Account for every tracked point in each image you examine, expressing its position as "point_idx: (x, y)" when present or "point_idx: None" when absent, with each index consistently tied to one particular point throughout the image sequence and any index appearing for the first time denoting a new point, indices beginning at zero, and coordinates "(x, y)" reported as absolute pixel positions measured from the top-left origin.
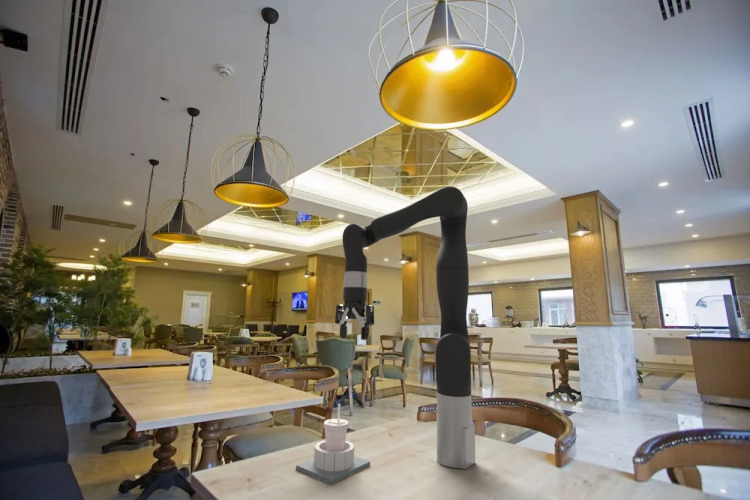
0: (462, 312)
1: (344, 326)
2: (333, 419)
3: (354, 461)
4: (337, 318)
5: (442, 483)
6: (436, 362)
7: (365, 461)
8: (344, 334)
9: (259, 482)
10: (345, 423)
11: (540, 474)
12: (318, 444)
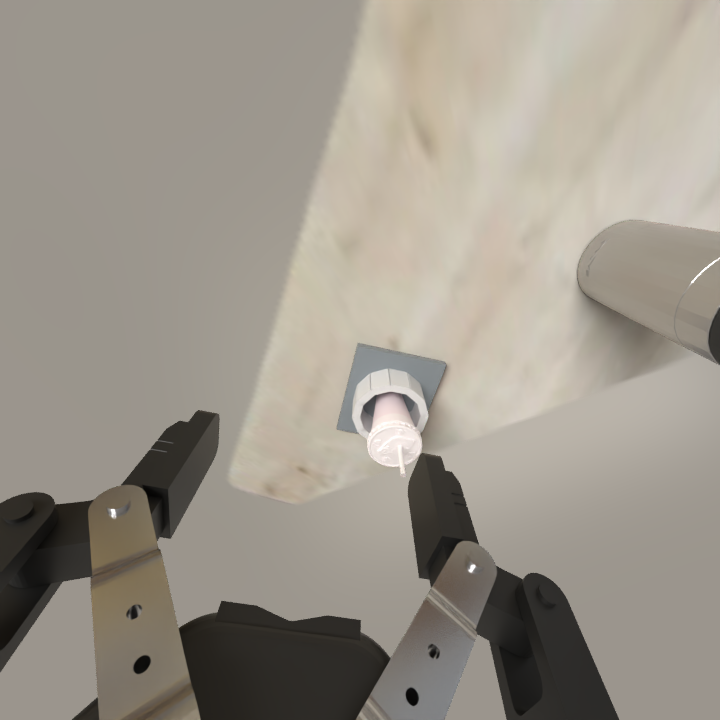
0: None
1: (169, 514)
2: (378, 434)
3: (418, 378)
4: (27, 621)
5: (584, 368)
6: None
7: (438, 369)
8: (205, 449)
9: (321, 470)
10: (416, 444)
11: None
12: (358, 423)
